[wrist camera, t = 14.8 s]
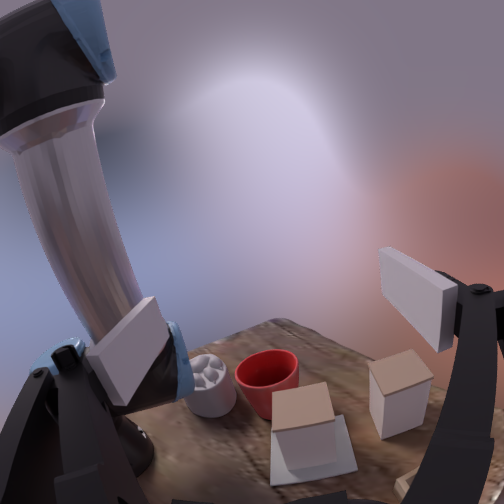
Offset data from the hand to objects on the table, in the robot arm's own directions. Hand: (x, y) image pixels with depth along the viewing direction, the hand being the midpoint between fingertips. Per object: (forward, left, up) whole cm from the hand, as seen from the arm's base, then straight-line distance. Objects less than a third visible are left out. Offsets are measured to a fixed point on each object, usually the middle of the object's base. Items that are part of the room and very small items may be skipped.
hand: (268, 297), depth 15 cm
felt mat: (0, +12, -31) cm, 33 cm away
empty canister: (+14, +14, -31) cm, 37 cm away
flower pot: (-5, +24, -31) cm, 40 cm away
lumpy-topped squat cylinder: (-19, +29, -31) cm, 46 cm away
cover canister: (0, +12, -30) cm, 33 cm away
